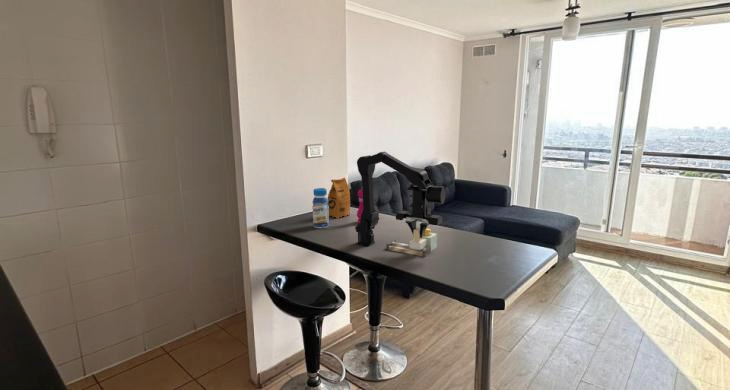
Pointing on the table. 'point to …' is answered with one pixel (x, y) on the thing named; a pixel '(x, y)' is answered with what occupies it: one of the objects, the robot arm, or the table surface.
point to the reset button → (427, 232)
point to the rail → (407, 249)
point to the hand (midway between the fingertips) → (418, 237)
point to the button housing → (431, 241)
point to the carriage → (417, 240)
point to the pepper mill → (360, 205)
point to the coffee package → (339, 198)
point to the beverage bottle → (320, 208)
